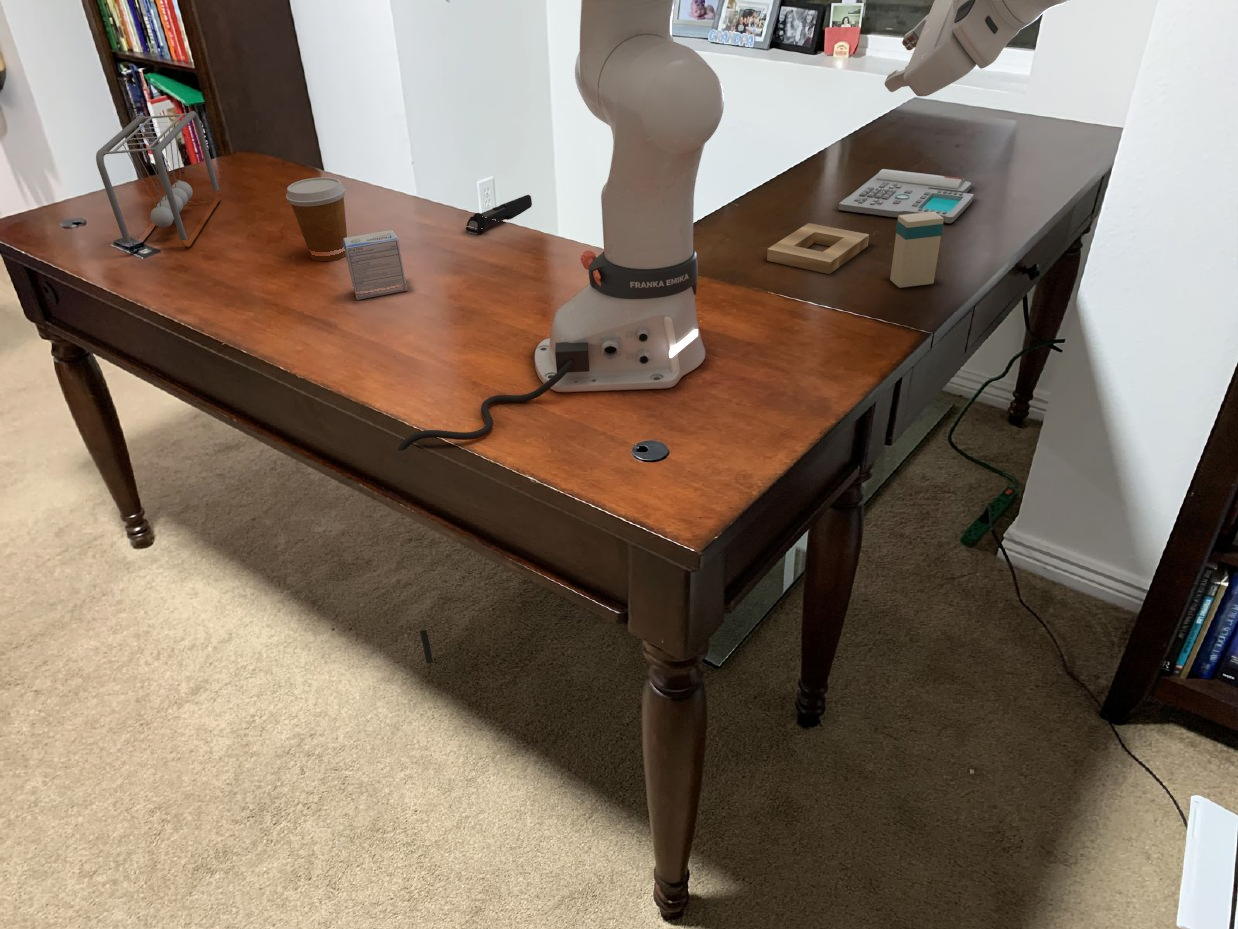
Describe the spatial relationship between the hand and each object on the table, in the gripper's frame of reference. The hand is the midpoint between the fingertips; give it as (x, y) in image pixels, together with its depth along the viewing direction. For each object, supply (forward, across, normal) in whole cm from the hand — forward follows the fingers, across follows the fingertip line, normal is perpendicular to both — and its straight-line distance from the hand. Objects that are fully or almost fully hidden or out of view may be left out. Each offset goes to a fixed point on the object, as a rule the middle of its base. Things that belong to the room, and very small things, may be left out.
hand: (897, 63), depth 122 cm
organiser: (+28, +3, +19) cm, 34 cm away
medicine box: (+66, +38, -28) cm, 82 cm away
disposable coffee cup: (+83, +29, -37) cm, 96 cm away
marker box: (+14, +9, +27) cm, 31 cm away
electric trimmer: (+73, +7, -18) cm, 76 cm away
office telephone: (+28, -26, +34) cm, 51 cm away
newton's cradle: (+114, +27, -60) cm, 132 cm away
